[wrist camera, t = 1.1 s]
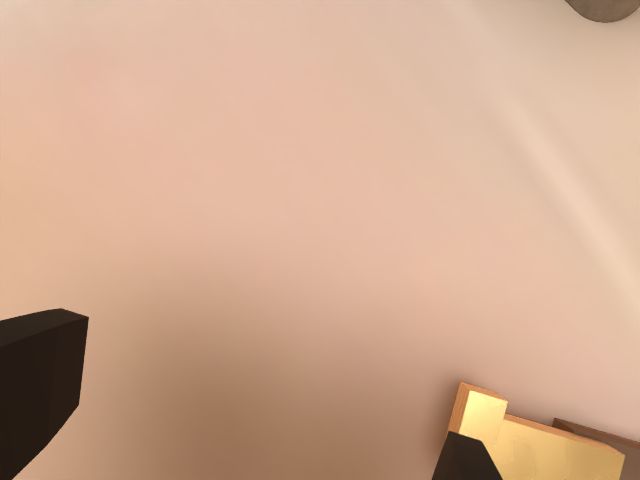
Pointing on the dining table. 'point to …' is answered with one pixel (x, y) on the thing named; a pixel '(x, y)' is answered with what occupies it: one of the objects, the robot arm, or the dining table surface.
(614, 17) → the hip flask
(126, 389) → the dining table surface
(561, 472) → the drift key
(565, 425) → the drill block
